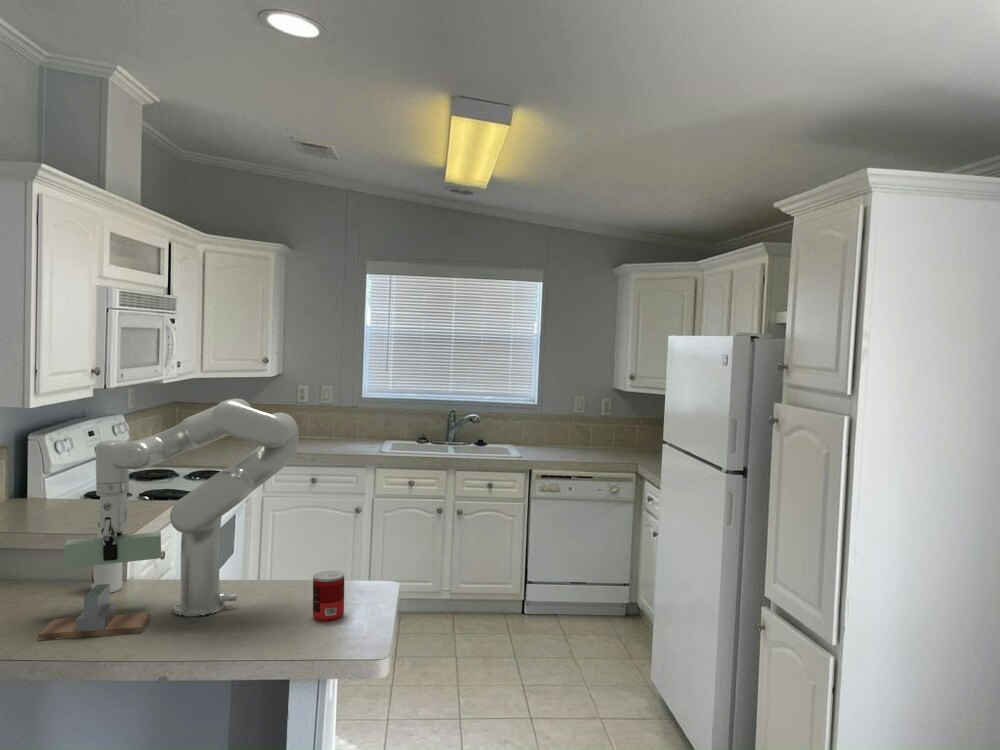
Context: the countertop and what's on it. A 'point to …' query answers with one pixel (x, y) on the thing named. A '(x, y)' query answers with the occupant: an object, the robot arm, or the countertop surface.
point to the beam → (128, 547)
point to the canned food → (328, 596)
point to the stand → (96, 619)
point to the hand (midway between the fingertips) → (113, 556)
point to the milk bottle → (107, 573)
